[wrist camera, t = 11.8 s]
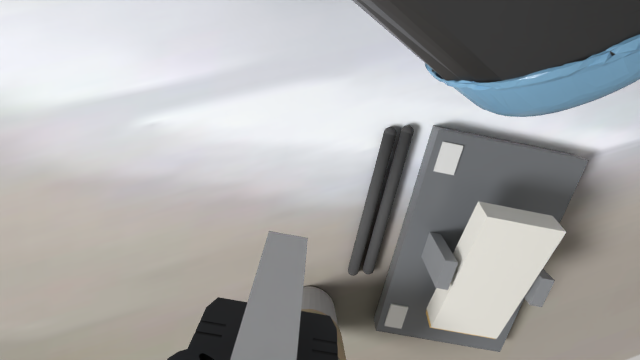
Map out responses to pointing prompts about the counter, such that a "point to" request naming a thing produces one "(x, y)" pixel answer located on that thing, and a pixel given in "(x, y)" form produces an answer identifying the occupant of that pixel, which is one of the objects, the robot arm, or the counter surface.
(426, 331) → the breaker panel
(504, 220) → the plate
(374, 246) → the cords
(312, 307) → the coffee cup
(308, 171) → the counter surface
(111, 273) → the counter surface
